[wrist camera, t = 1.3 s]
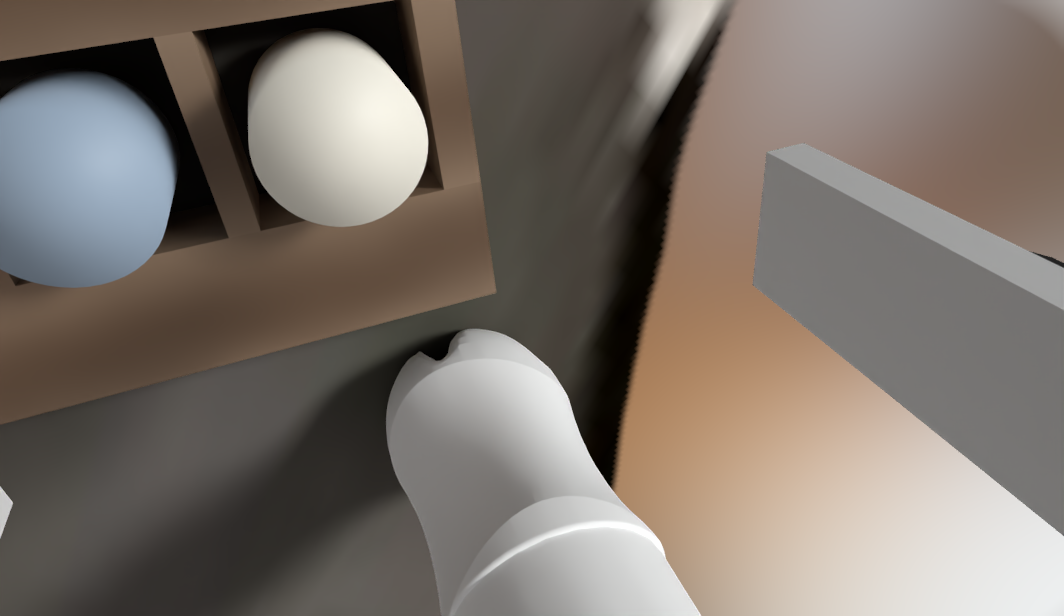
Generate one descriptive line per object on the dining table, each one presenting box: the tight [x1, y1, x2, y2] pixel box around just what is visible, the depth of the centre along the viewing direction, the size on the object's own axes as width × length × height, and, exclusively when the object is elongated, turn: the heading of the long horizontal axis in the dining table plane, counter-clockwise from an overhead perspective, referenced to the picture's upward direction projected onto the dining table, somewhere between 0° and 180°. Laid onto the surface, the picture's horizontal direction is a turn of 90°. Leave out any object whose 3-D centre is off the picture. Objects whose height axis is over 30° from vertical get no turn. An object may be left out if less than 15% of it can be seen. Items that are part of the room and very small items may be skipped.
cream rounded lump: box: [248, 28, 428, 227], centre depth 19 cm, size 4×4×4 cm
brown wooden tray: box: [0, 0, 496, 425], centre depth 19 cm, size 14×21×3 cm, turn 98°
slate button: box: [0, 68, 180, 288], centre depth 17 cm, size 4×4×4 cm
